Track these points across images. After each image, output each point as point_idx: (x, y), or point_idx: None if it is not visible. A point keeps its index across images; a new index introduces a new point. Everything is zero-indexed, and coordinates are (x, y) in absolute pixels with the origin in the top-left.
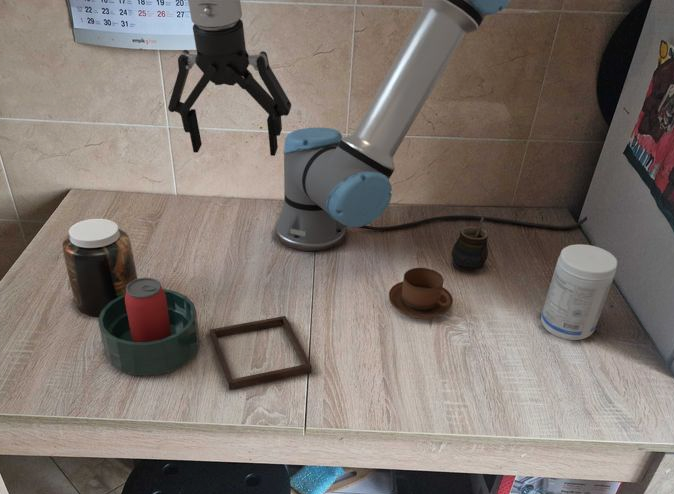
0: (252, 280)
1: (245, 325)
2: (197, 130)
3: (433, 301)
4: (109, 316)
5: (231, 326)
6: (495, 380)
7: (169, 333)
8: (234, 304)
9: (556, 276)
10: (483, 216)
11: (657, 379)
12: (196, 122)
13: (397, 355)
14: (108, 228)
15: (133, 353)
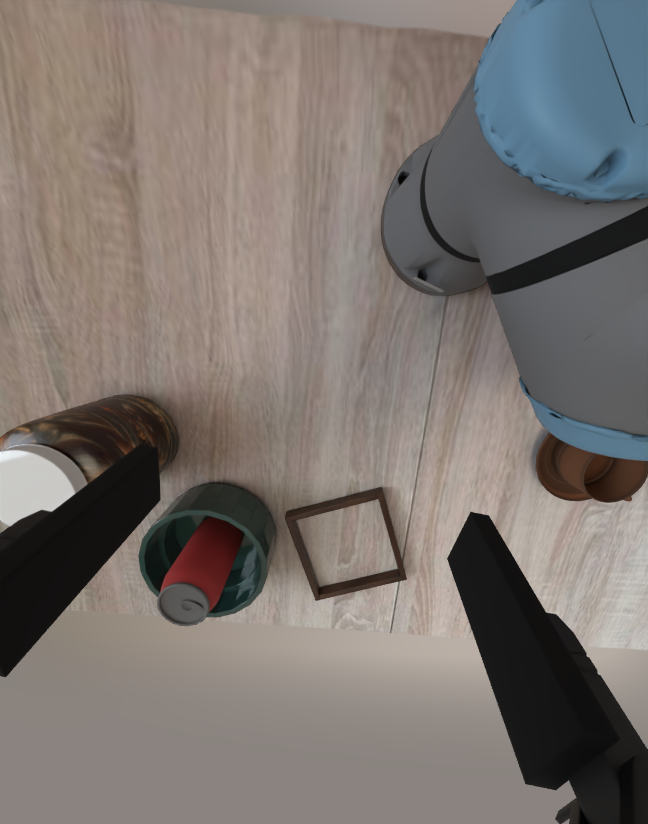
0: (336, 387)
1: (330, 510)
2: (102, 517)
3: (600, 486)
4: (152, 543)
5: (312, 513)
6: (602, 585)
7: (237, 552)
8: (312, 447)
9: None
10: None
11: None
12: (65, 547)
13: (508, 547)
14: (55, 490)
15: None
